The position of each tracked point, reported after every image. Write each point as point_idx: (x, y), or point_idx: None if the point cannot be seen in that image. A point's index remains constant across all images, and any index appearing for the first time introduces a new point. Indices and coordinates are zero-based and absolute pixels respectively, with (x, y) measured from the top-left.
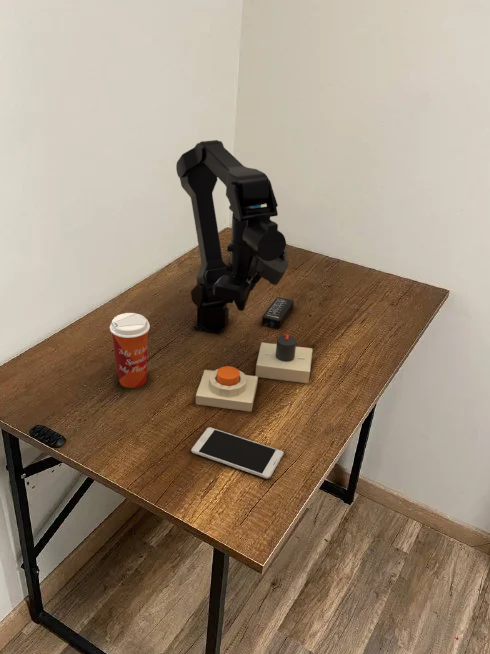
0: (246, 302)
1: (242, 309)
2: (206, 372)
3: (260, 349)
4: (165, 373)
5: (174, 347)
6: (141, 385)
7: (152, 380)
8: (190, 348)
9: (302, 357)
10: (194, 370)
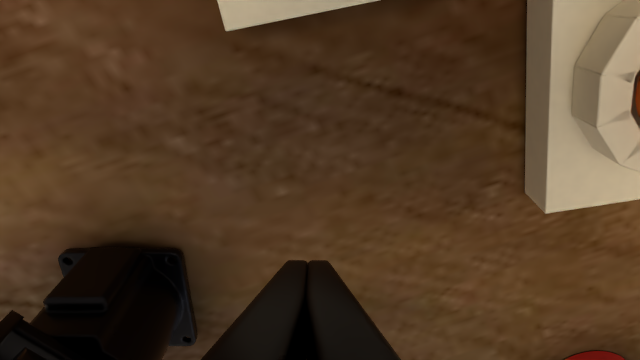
0: (264, 296)
1: (331, 274)
2: (567, 200)
3: (304, 11)
4: (522, 319)
5: None
6: (617, 355)
7: (575, 337)
8: None
9: None
10: (477, 243)
